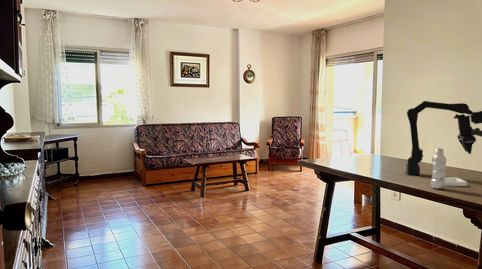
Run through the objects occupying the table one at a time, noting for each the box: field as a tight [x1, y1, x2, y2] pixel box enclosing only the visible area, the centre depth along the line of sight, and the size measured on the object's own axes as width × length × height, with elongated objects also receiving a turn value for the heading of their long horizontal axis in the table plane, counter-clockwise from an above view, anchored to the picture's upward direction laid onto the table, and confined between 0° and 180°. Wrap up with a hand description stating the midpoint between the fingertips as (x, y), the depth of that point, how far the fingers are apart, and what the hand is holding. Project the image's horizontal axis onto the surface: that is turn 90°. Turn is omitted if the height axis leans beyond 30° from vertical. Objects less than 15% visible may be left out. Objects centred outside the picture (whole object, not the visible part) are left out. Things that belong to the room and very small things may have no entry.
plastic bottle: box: [430, 148, 447, 190], centre depth 174 cm, size 6×7×20 cm
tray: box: [445, 176, 468, 188], centre depth 183 cm, size 12×11×2 cm
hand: (468, 152), depth 196 cm, fingers open, 9 cm apart
